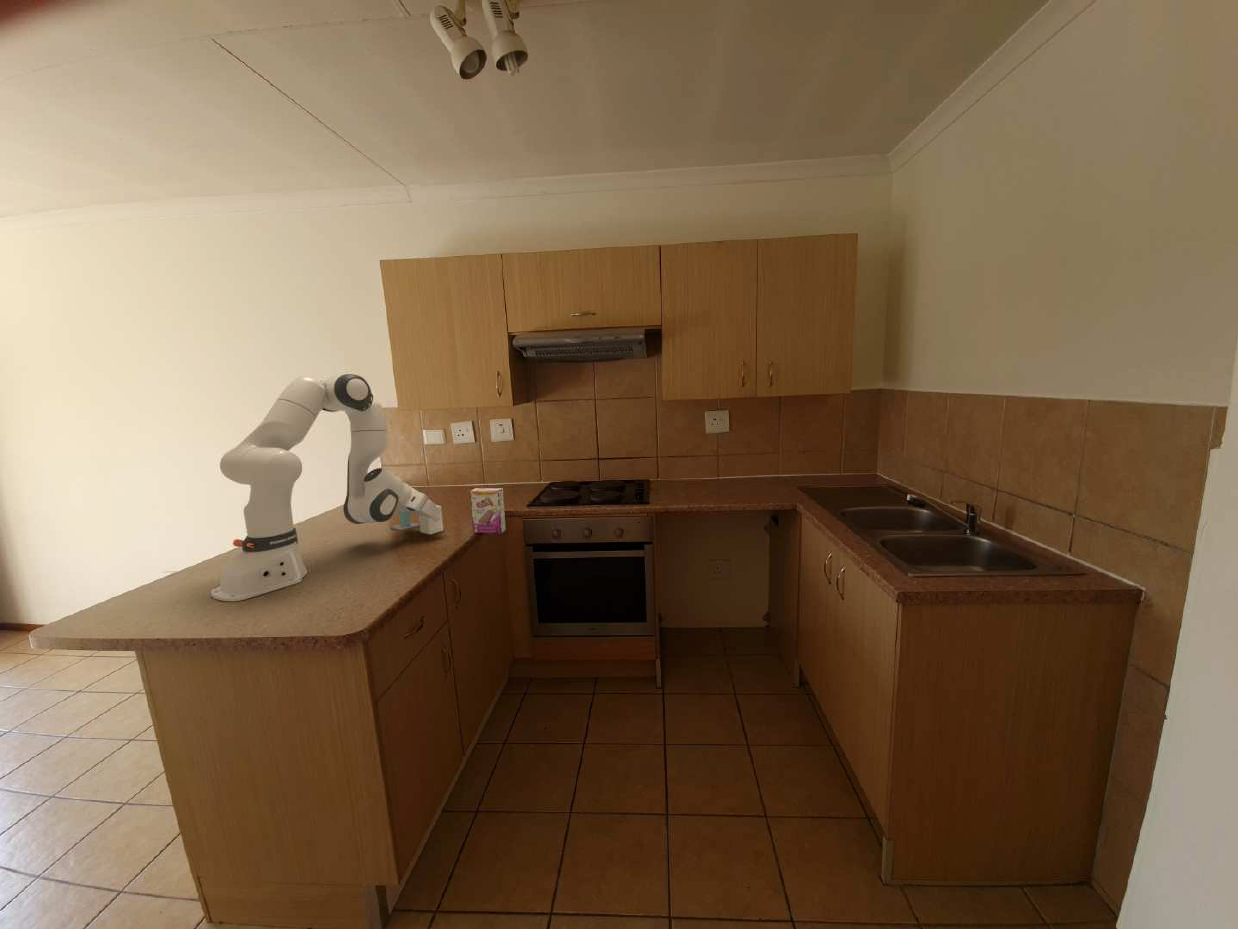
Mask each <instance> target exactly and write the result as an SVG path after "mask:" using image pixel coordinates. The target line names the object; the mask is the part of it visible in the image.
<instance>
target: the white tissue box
mask: <svg viewBox="0 0 1238 929" xmlns="http://www.w3.org/2000/svg"><path fill="white" fill-rule="evenodd" d="M435 505H436V506H437V507H439V508H440V510H441V513H440V515H439V517H440V520H439V521H434V520H433V518H429V517H424V516H420V515H418V519H419V524H420V527H419V530H420V533H422V534H426V535H433V534H436V533H437V534H438V533H439V532H442V531H444V526H443V514H442V506H441V505H438V504H435Z"/></svg>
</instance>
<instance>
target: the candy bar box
mask: <svg viewBox="0 0 1238 929" xmlns="http://www.w3.org/2000/svg"><path fill="white" fill-rule="evenodd" d="M469 494H470V495H469V496H470V507H471V520H472V533H473V534H489V535H490V534H496V535H498V534H500V535H501V534H503V533H504V532H505V531H506V530H507V529H506V514H505V500H504V499H505V498H504V489H503V488H502V487H501V488H500V487H498V488H493V487H492V488H490V487H489V488H487V487H485V488H484V487H481V488H478V487H477V488H473V489H472V490H470V491H469Z"/></svg>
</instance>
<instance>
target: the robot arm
mask: <svg viewBox="0 0 1238 929" xmlns="http://www.w3.org/2000/svg"><path fill="white" fill-rule="evenodd" d="M382 406H383V405H382V404H381V403H380V402H379V401H378V400H376V399H374V394H373V393H372V389H371V386H370V385H369V383H368V382H367V380H366V379H365V378H364V377H362V376H360V375H358V374H353V373H346V374H342V375H338V376H337V375H335V376H332V377H329V378H327V379H324V380H321V381H318V380H317V379H315V378H313V377H309V376H299V377H296V378H295V379H294V380H292V381H291V383H290V384H289V385H287V386H286V388H285V389H284V390H283V391H282V392H281V394H280V395H279V396H278V397H277V399H276V401H275V402H274V403H273V405H272V406H271V408H270V410H269V411H268V413H267V414H266V416H265V417H264V418H263V420H262V421H261V422H260V424H258V425H257V426H256V427H255V428H254V430H253V431H252V432H250V434H248V436H246V437H245V438H244V439H243V440H242V441H241V442H240V443H239V444H238V445H237V446H235V447H233V448H231V449H230V450H228V451H226V452H225V453H224V454H223V455H222V457H221V458H220V463H219V469H220V471H221V473H222V475H223V476H224V477H225V478H227V479H228V480H230V481H232V482H235V483H237V484H240V485H247V486H248V485H249V486H250V492H249V499H248V502H247V504H246V505H245V506H244V507H243V516H244V521H245V529H246V534H247V535H246V536H245V538H244V540H243V539H238V538H236V539H234V540H233V541H232V545H233V546H234V547H238V548H242V550H241V552H240V553H239V554H237V556H236V557H235V558H234V559H232V560H231V561H230V562H229V563H228V564H227V565H226V566H225V567H224V568H223V569H222V571H221V572H220V576H219V577H220V578H219V585H220V586H218V587H215V588H213V589H211V591H210V596H211V597H212V599H216V600H218V601H222V602H223V601H224V602H240V601H244V600H247V599H250V598H251V599H252V598H253V597H257V596H261V595H263V594H268V593H270V592H273V591H276V590H280V589H282V588H286V587H290V586H293V585H296V584H299V583H301V582H302V579H303V578H304V577H305V576H306V575H307V574H308V570H307V569H306V566H305V565H304V563H303V559H302V557H301V554H300V550H299V547H298V544H299V542H298V540H299V539H298V534H297V533H298V532H297V529H296V527H295V526H294V520H293V519H294V518H293V513H292V512H293V511H292V496H293V495H292V494H293V491H294V490H293V489H294V486H295V483H296V482H297V481H298V479H299V478H300V477H301V475H302V472H303V464H302V463H303V462H302V461H301V458H300V457H299V456H298V455H297V454H296V453H294V452H292V451H290V450H291V449H292V448H294V447H296V446H297V445H298V444H300V443H302V442H303V441H304V439H305V438H306V436H307V435H308V433H309V431H310V430H311V428H312V427H313V424H315V421H316V419H317V418H318V416H319V414H320V412H321V411H325V412H330V413H337V412H340V411H342V412H343V411H344V413H345V414H346V415H347V418H348V419H349V420H348V421H349V425H350V450H349V451H350V452H349V454H348V458H347V469H346V470H347V475H346V477H347V478H346V497H345V500H344V504H343V515H344V517H345V519H347V522H349V523H352V524H354V525H362V524H366V523H369V524H370V523H371V524H372V523H373V524H374V523H385V522H387V521H388V520H390V519H392V517H393V515H394V513H395V511H396V510H398V511H399V510H400V511H402V512H406V513H409V514H411V515H416V516H419V515H420V516H424V517H429V518H433V520H434V521H439V520H440V517H439V515H440V513H441V512H442V509H441V510H440V508H439V507H437V506H436V505H437V504H435V503H434V502H433V501H432V500H430V499H429V498H428V495H426V494H425V493H423V492H420V491H418V490H417V489H415V488H413V487H412V486H411V485H409V484H408V483H405V482H403V481H402V479H401V478H400V477H399V476H398V475H396V474H395V473H393V472H392V471H391V470H389V469H386V468H384V467H377V468H374V469H372V470H370V471H369V468H370V466H371V464H373V462H374V461H376V460H377V459H378V458H380V457H381V456H382V455H383V454H384V453H385V452H386V451H387V449H388V443H389V437H388V427H387V421H386V416H385V413H384V409H383V407H382ZM368 471H369V472H368Z"/></svg>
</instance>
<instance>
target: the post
mask: <svg viewBox="0 0 1238 929" xmlns="http://www.w3.org/2000/svg"><path fill="white" fill-rule="evenodd" d="M398 516H399V524H395V525H391V526H389V527H390V528H389V529H390V530H394V531H397V532H401V533H404V532H407V531H410V530H414V529H418V528H420V523H415V522H412V521H411V518H410V513H406V512H402V511H400V510H399V509H398Z"/></svg>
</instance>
